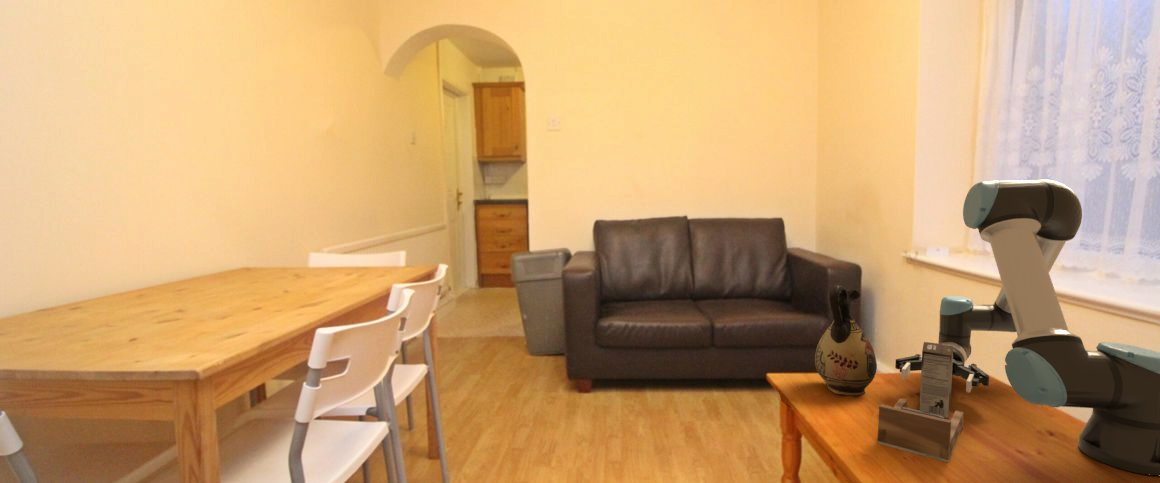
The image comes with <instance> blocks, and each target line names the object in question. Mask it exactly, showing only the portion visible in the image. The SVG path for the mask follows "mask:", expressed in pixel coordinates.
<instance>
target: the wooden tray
mask: <svg viewBox="0 0 1160 483" xmlns="http://www.w3.org/2000/svg"><path fill="white" fill-rule="evenodd" d="M903 407H906V408H908V399H905V398H899V399H898V400H897V402H896V403H895V405H894V406H890V405H886V404H881V403H880V404H879V406H878V423H877V425H878V427H877V443H878V445H879V444H880V445H883V446H888V447H890V448H894V449H898V450H902V451H905V452H908V453H912V454H916V455H919V456H923V457H927V458H931V459H935V460H938V461H942V462H946V463H949V462H950V459H951V457H952V454H953V452H954V450H955V447H956V444H957V441H958V439H959V436H960V434H961V431H962V429H963V427H964V426H963V424H964V411H959V410H954V413H953V415H952V418H951V419H948V418H944V419H943V418H938V417H934V416H930V415H925V414H921V413H917V412H912V411H908V410H904V409H902V408H903Z"/></svg>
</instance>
